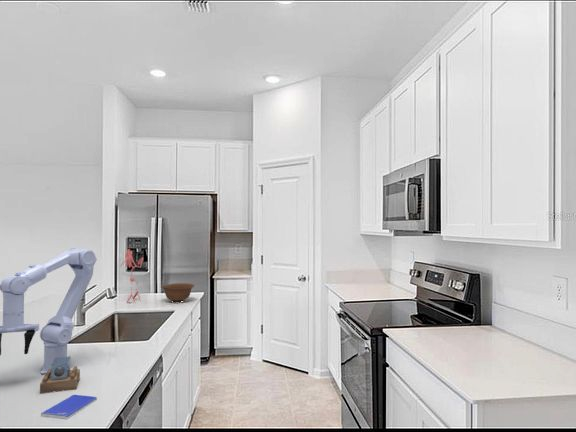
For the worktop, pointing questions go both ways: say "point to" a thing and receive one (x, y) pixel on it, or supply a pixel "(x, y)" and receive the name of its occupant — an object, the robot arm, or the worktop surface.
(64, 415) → the hard drive
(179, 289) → the bowl
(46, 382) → the stand
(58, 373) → the housing
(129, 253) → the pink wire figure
